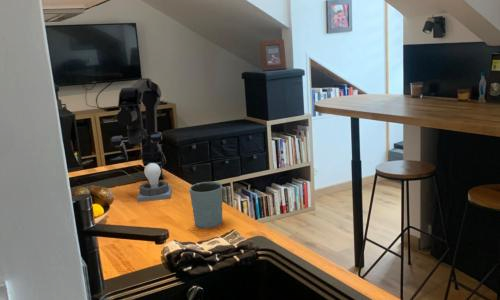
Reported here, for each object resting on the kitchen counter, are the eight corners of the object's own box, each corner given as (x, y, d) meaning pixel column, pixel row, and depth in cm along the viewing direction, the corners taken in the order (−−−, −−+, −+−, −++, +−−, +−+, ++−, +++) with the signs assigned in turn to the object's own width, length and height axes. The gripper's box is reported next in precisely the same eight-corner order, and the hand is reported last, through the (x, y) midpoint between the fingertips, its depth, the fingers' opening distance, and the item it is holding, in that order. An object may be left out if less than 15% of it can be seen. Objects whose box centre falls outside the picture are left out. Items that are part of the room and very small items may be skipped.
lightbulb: (164, 188, 183) (161, 160, 180) (160, 193, 177) (157, 165, 174) (149, 189, 183) (146, 161, 181) (144, 194, 178) (141, 165, 175)
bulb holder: (140, 192, 186) (139, 182, 185) (171, 188, 187) (170, 179, 186) (137, 201, 174) (136, 191, 173) (170, 198, 175) (169, 187, 174)
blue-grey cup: (208, 215, 154) (205, 180, 152) (232, 221, 148) (229, 184, 146) (186, 225, 147) (182, 188, 144) (209, 232, 141) (206, 193, 138)
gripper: (106, 127, 170) (112, 169, 174) (158, 121, 172) (163, 163, 176) (109, 122, 181) (115, 161, 184) (159, 117, 183) (164, 156, 187)
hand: (139, 160), depth 183 cm, fingers open, 9 cm apart
